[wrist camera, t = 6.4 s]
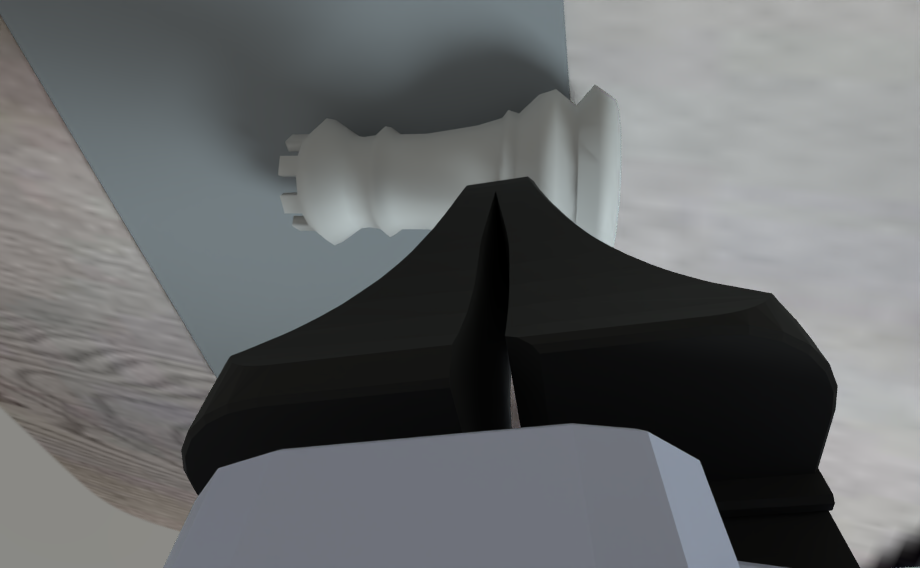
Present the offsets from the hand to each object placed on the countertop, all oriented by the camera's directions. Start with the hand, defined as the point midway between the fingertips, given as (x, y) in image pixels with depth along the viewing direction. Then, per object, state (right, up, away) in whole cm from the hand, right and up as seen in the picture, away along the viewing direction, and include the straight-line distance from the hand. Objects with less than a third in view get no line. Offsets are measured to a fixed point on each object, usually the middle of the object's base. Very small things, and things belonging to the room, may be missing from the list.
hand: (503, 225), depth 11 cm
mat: (-5, +2, +5) cm, 7 cm away
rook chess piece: (+3, +1, +2) cm, 4 cm away
